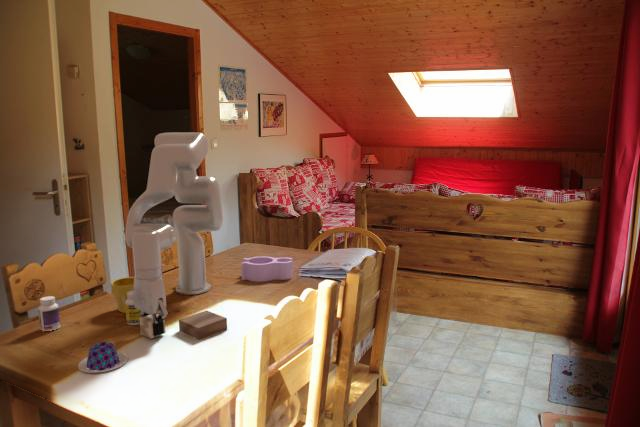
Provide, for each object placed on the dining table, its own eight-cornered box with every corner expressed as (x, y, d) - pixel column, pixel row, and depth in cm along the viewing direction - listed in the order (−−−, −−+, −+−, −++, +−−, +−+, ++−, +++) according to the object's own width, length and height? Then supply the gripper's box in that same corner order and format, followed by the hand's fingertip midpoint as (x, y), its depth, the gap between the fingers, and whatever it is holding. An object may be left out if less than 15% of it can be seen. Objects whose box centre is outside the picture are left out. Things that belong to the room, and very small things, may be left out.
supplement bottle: (128, 326, 162) (125, 296, 160) (125, 321, 167) (123, 291, 165) (146, 323, 164) (144, 293, 163) (143, 317, 169) (141, 288, 167)
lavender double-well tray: (293, 272, 218) (293, 256, 217) (292, 281, 206) (291, 264, 204) (244, 273, 218) (244, 256, 216) (240, 282, 205) (240, 264, 204)
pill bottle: (64, 326, 163) (61, 296, 161) (50, 333, 158) (47, 301, 156) (50, 324, 165) (47, 294, 163) (36, 330, 160) (33, 300, 158)
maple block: (140, 334, 154) (139, 317, 153) (155, 328, 158) (154, 312, 157) (150, 338, 151) (149, 322, 150) (165, 332, 155) (164, 316, 154)
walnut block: (179, 332, 158) (178, 319, 157) (207, 322, 165) (206, 310, 165) (199, 341, 152) (198, 328, 151) (227, 330, 159) (226, 318, 158)
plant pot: (151, 308, 177) (149, 280, 175) (122, 317, 170) (119, 288, 168) (136, 301, 184) (134, 274, 182) (107, 309, 177) (104, 281, 175)
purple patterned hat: (98, 352, 145) (96, 334, 144) (137, 356, 142) (135, 338, 141) (67, 372, 134) (65, 353, 133) (108, 378, 131) (107, 358, 130)
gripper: (120, 270, 154) (125, 329, 157) (154, 281, 143) (158, 344, 146) (143, 264, 159) (148, 321, 163) (177, 274, 149) (181, 335, 152)
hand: (153, 331), depth 155 cm, fingers closed on maple block, 5 cm apart
